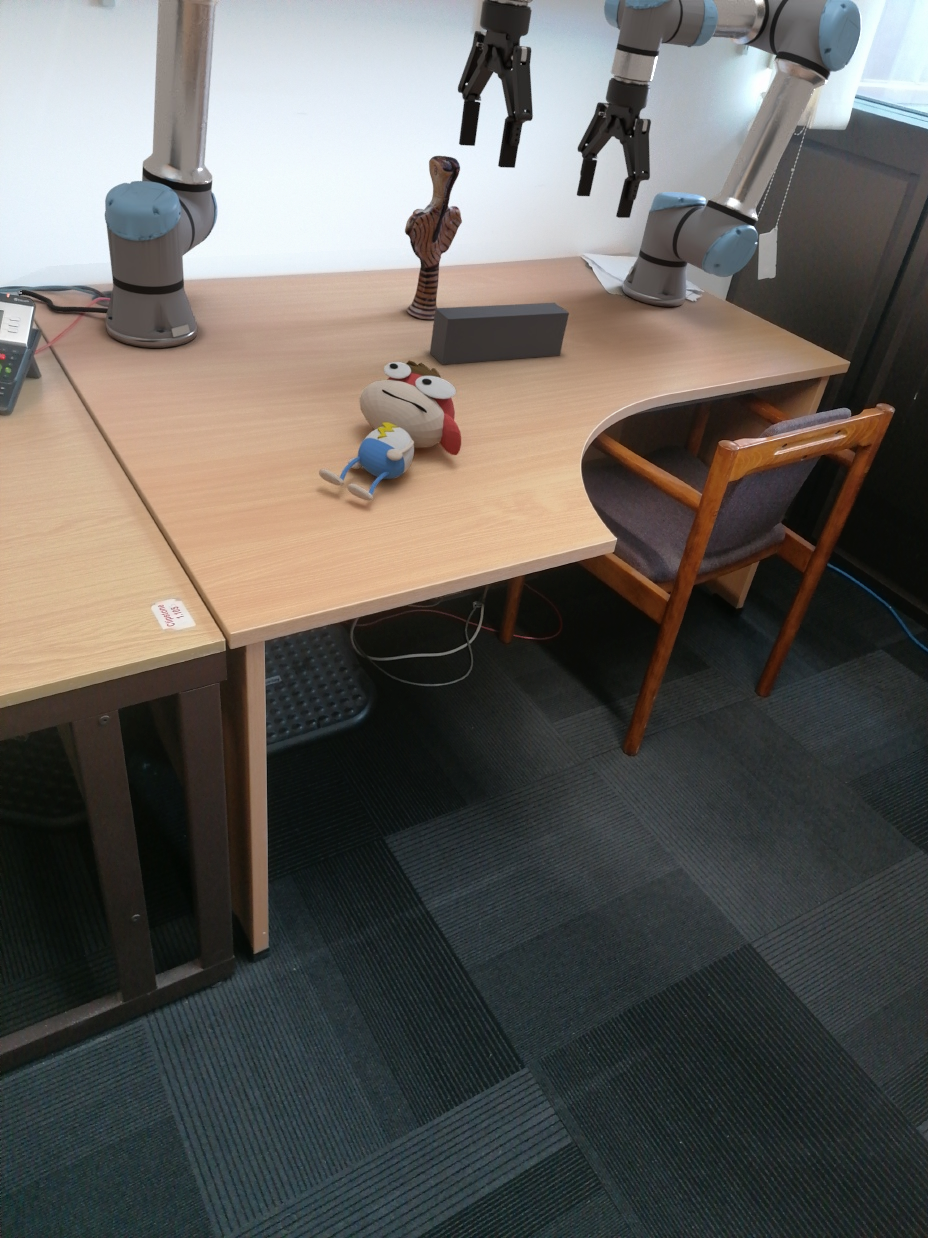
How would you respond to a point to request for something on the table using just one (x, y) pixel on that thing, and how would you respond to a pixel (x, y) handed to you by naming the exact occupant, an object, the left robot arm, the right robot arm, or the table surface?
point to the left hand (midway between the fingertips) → (486, 155)
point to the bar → (497, 332)
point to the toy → (402, 423)
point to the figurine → (433, 234)
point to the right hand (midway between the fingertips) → (602, 206)
